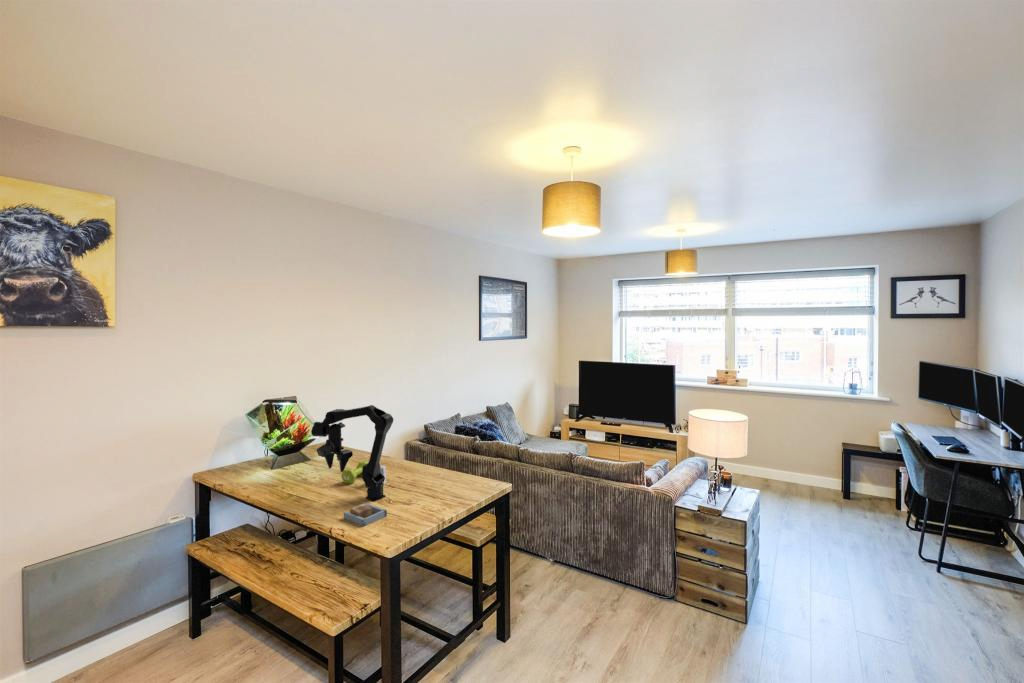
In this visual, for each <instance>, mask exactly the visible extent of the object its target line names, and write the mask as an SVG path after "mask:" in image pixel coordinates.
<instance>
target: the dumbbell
mask: <svg viewBox="0 0 1024 683" xmlns="http://www.w3.org/2000/svg"><path fill="white" fill-rule="evenodd" d="M367 463H369V461H364V460H362V461H359V462H358V464H357V466H356V469H353V468H345V469H344V471H343V472H341V475H340V477H341V479H342V481H343V483H344V484H345V485H352V484H353V483H355V481H356V479H357V478H358V477H357V476H359V475H360V476H362V474H361V473H362V470H363V466H364V465H365V464H367Z"/></svg>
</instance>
